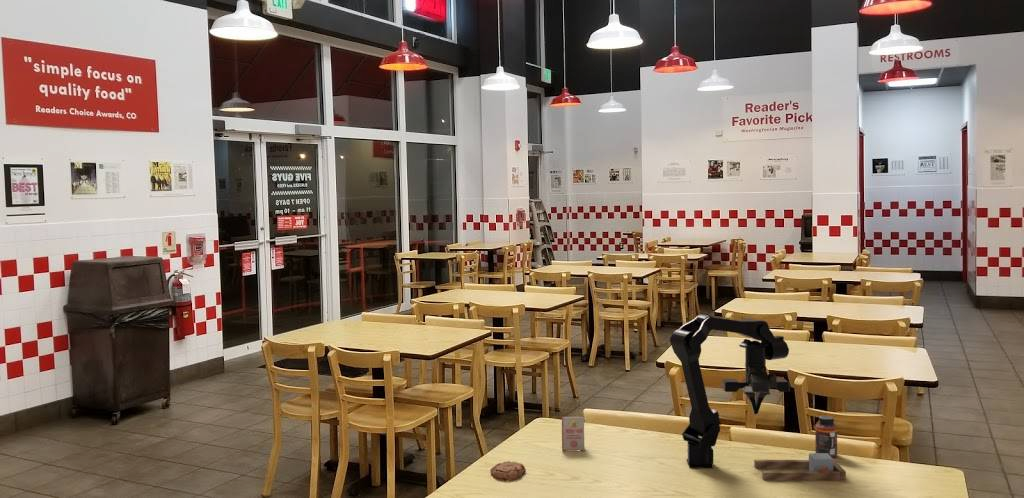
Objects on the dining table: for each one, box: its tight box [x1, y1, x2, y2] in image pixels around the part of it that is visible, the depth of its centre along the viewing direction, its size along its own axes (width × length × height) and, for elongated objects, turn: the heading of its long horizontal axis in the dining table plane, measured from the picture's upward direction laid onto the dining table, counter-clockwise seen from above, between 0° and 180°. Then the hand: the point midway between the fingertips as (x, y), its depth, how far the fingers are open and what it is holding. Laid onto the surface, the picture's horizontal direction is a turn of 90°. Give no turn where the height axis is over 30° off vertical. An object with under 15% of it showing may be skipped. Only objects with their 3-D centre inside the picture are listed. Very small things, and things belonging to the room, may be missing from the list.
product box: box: [561, 416, 585, 451], centre depth 244 cm, size 4×7×10 cm, turn 85°
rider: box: [808, 452, 834, 471], centre depth 218 cm, size 5×5×5 cm
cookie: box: [489, 460, 527, 482], centre depth 222 cm, size 10×11×3 cm
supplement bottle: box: [814, 415, 838, 459], centre depth 233 cm, size 6×6×11 cm
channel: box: [753, 458, 847, 482], centre depth 218 cm, size 22×11×3 cm, turn 85°
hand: (755, 413), depth 235 cm, fingers closed
